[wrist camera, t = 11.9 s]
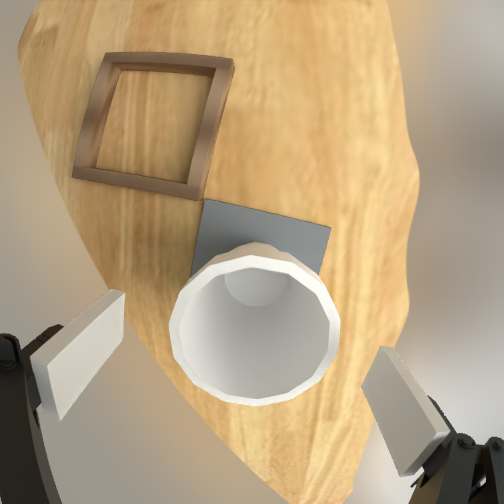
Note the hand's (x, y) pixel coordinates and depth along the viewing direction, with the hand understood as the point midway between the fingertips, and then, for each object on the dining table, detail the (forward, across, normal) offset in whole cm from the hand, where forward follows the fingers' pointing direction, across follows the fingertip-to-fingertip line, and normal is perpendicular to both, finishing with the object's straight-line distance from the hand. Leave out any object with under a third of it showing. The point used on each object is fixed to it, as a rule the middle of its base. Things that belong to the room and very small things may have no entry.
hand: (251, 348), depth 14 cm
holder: (+16, -13, +12) cm, 23 cm away
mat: (+15, 0, -1) cm, 15 cm away
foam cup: (+15, 0, -1) cm, 15 cm away
